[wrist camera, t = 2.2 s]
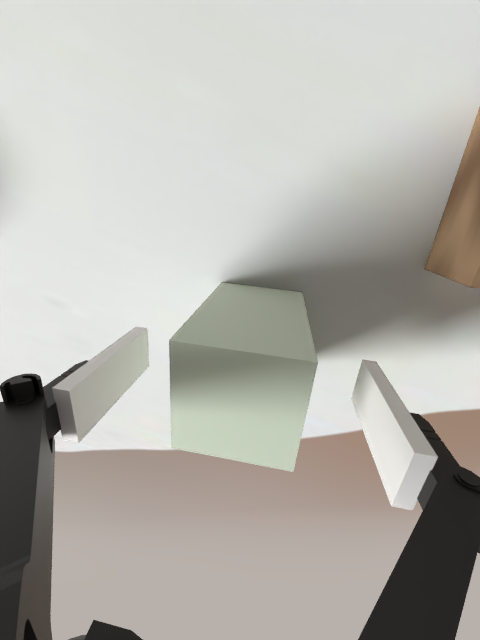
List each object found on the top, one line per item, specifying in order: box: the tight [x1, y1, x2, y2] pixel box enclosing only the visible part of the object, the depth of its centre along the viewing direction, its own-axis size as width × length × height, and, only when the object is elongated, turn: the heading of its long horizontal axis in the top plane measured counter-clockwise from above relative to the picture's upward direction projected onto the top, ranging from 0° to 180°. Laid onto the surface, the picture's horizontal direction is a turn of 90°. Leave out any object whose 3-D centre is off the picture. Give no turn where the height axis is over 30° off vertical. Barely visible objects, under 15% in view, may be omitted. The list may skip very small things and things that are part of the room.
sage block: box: [169, 282, 318, 472], centre depth 16 cm, size 6×6×10 cm
